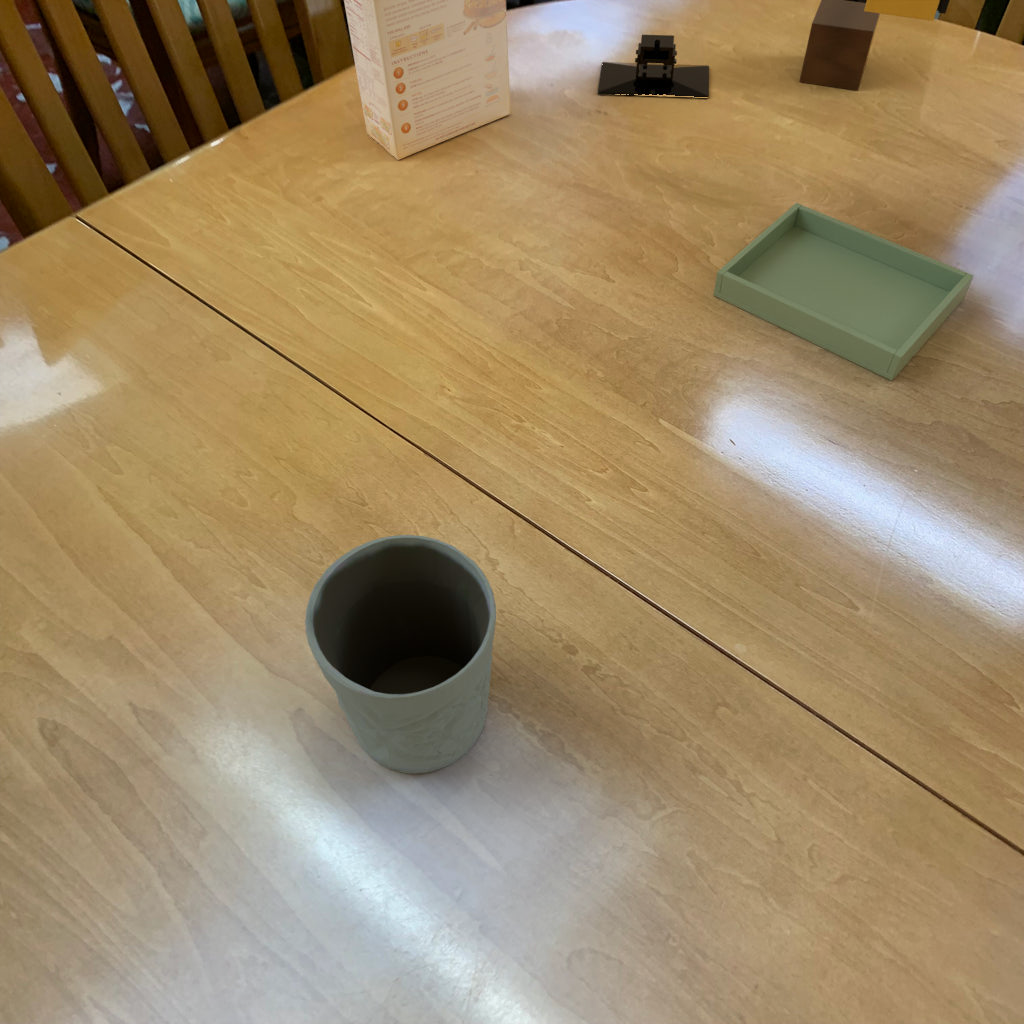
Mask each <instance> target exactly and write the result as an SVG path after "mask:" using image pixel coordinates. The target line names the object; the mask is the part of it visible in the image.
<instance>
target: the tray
mask: <svg viewBox="0 0 1024 1024" xmlns="http://www.w3.org/2000/svg"><path fill="white" fill-rule="evenodd" d="M716 273H717V274H716V276H715V277H716V278H715V284H714V290H713V296H714V297H716V298H718V299H720V300H721V301H725V302H726V303H729V304H731V305H733V306H734V307H737V308H739V309H741V310H743V311H745V312H747V313H749V314H751V315H753V316H756V317H758V318H760V319H762V320H764V321H766V322H768V323H769V324H772V325H774V326H776V327H778V328H781V329H783V330H784V331H787V332H789V333H791V334H793V335H795V336H797V337H799V338H802V339H803V340H805V341H807V342H809V343H812V344H814V345H816V346H819V347H821V348H823V349H825V350H827V351H828V352H831V353H833V354H835V355H837V356H839V357H841V358H843V359H845V360H848V361H849V362H851V363H853V364H856V365H857V366H860V367H862V368H864V369H866V370H868V371H870V372H872V373H874V374H876V375H879V376H881V377H883V378H885V379H886V380H889V381H893V380H895V378H896V377H897V376H898V375H899V373H900V372H901V371H903V369H904V368H905V367H906V366H907V364H908V363H909V362H910V361H911V360H912V358H914V356H915V355H917V353H918V352H919V351H920V350H921V348H922V347H923V346H924V345H925V344H926V343H927V341H928V340H929V339H930V338H931V337H932V336H933V335H934V333H935V332H936V331H937V330H938V329H939V328H940V327H941V325H942V324H944V322H945V321H946V320H947V319H948V317H950V315H951V314H952V313H953V312H954V311H955V310H956V308H957V307H958V306H959V305H960V304H961V303H962V301H963V300H964V299H965V297H966V294H967V292H968V290H969V288H970V285H971V283H972V281H973V279H974V276H975V275H974V274H973V273H972V274H971V273H969V272H967V271H965V270H961V269H959V268H957V267H954V266H953V265H949V264H947V263H945V262H942V261H940V260H937V259H935V258H932V257H930V256H927V255H925V254H923V253H920V252H917V251H915V250H913V249H910V248H908V247H906V246H903V245H901V244H898V243H896V242H894V241H891V240H888V239H886V238H884V237H882V236H879V235H876V234H874V233H871V232H869V231H866V230H864V229H862V228H859V227H858V226H857V227H856V225H855V226H854V225H852V224H849V223H847V222H844V221H842V220H839V219H838V218H835V217H833V216H831V215H828V214H825V213H822V212H820V211H817V210H815V209H813V208H812V207H811V208H810V207H809V206H806V205H803V204H801V203H798V202H795V203H794V204H793V205H792V206H791V207H789V209H787V210H786V211H785V212H784V213H783V214H782V215H781V216H779V218H777V219H776V220H775V221H773V223H771V224H770V225H769V226H768V227H767V228H765V229H764V230H763V231H762V232H761V233H760V234H759V235H757V236H756V237H755V238H754V239H753V240H751V242H750V243H749V244H748V245H746V246H745V247H744V248H742V250H741V251H740V252H738V253H737V254H736V255H734V257H733V258H731V259H730V260H729V261H728V262H726V263H725V265H723V266H722V267H721V268H720V269H719V270H718V271H717V272H716Z"/></svg>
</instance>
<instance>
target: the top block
mask: <svg viewBox="0 0 1024 1024" xmlns="http://www.w3.org/2000/svg"><path fill="white" fill-rule="evenodd" d="M939 2H940V0H867V1H865V3H866V6H865V10H864V11H866V12H873V13H880V15H888V16H894V17H900V18H902V17H903V18H908V19H914V20H915V19H916V20H923V21H928V22H929V21H930V22H934V20H935V17H936V15H937V8H938V5H939Z"/></svg>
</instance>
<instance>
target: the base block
mask: <svg viewBox="0 0 1024 1024" xmlns="http://www.w3.org/2000/svg"><path fill="white" fill-rule="evenodd" d="M865 6H866V2H865V3H864V2H858V1H853V0H820V2H819V5H818V8H817V10H816V12H815V15H814V17H813V20H812V22H811V26H810V30H809V35H808V40H807V45H806V49H805V53H804V58H803V63H802V68H801V72H800V77H799V83H803V82H804V84H811V85H816V86H817V85H818V86H824V87H832V88H838V89H845V90H850V91H859V89H860V85H861V83H862V79H863V75H864V73H865V69H866V66H867V64H868V60H869V55H870V52H871V49H872V45H873V40H874V37H875V34H876V30H877V26H878V22H879V19H880V15H881V14H880V13H873V12H866V11H864V10H865Z"/></svg>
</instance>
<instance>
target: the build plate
mask: <svg viewBox="0 0 1024 1024" xmlns="http://www.w3.org/2000/svg"><path fill="white" fill-rule="evenodd" d="M676 45H677V44H676V43H675V35H670V34H669V35H668V34H641V38H640V42H638V46H637V49H636V50H635V55H637V56H636V57H635V58H634V62H620V61H619V62H616V61H615V62H614V61H603V62H601V66H600V73H599V80H598V86H597V95H598V94H607V95H606V96H609V95H608V94H611V95H610V96H615V94H620V95H621V94H626V95H627V94H629V95H634V94H638V95H642V94H645V95H649V94H652V95H657V94H659V95H663V94H666V95H675V96H694V97H708V96H709V97H710V65H708V64H706V65H705V64H704V65H703V64H677V62H678V60H677V58H676V56H678V51H677V50H676V47H677V46H676ZM602 64H603V65H602ZM675 64H677V65H675Z"/></svg>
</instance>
